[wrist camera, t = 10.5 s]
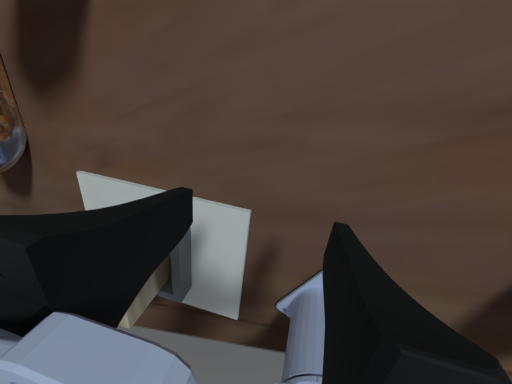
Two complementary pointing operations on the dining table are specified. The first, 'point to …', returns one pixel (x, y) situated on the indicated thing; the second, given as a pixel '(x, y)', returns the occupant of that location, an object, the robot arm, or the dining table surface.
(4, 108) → the tin
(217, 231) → the peg socket
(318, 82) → the dining table surface
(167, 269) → the birch peg
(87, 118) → the dining table surface
